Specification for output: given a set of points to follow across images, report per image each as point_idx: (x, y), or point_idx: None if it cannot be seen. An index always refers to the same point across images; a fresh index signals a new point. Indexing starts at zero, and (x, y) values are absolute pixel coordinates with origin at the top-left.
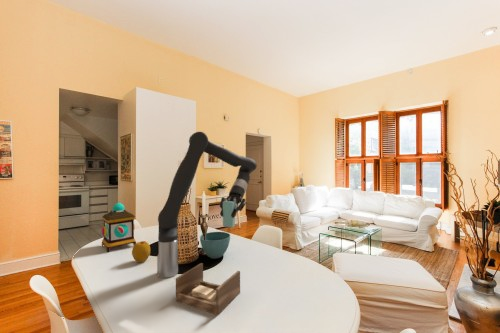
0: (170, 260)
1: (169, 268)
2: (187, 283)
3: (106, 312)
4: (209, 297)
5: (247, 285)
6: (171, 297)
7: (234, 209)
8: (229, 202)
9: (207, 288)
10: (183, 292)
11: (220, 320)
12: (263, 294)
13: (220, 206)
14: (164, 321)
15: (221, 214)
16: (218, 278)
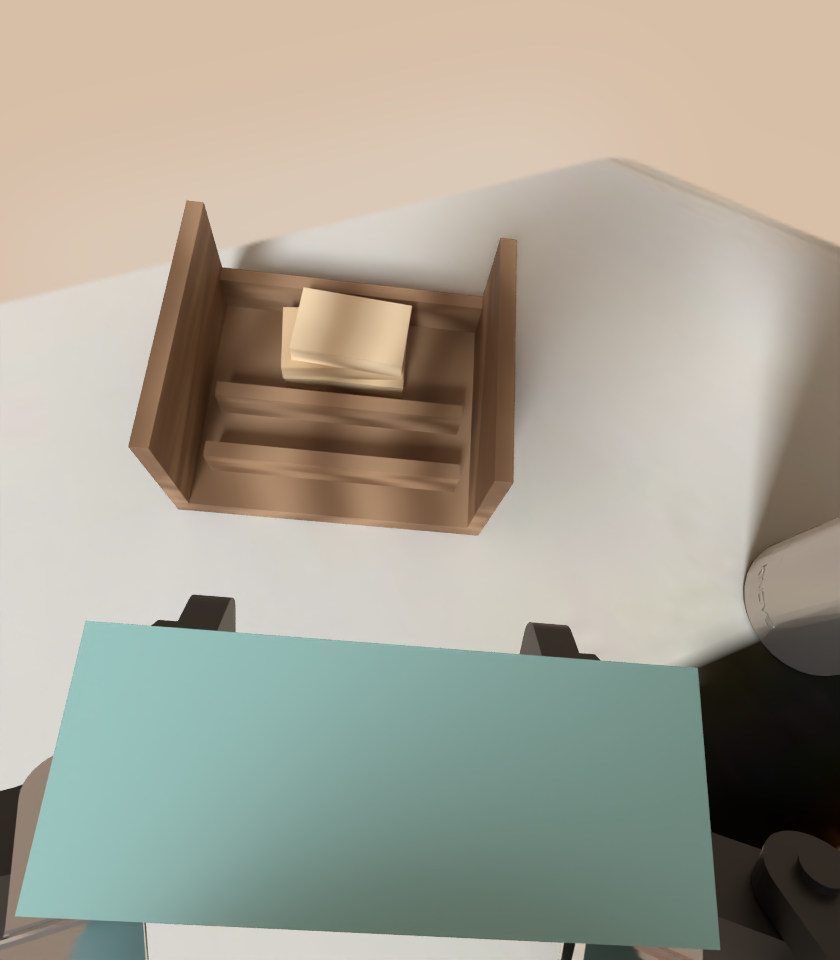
0: (829, 534)
1: (792, 545)
2: (485, 354)
3: (721, 215)
4: (294, 316)
5: None
6: (557, 380)
7: None
8: (280, 642)
9: (333, 345)
10: (478, 343)
11: None
12: (28, 582)
13: (787, 837)
14: (446, 233)
15: (530, 624)
16: None
